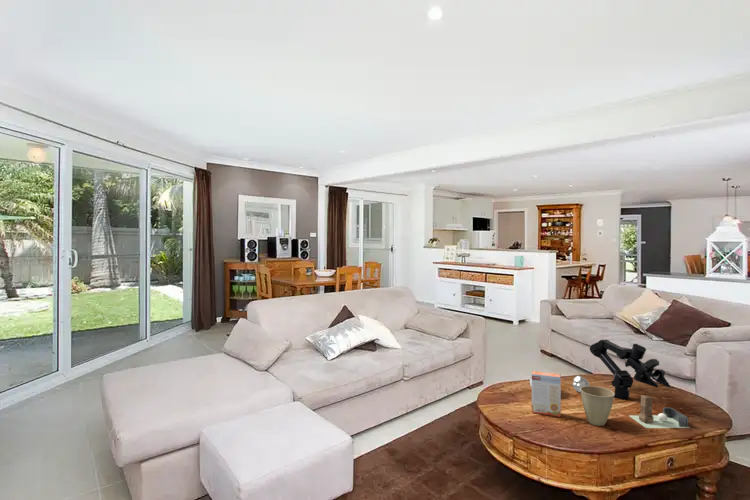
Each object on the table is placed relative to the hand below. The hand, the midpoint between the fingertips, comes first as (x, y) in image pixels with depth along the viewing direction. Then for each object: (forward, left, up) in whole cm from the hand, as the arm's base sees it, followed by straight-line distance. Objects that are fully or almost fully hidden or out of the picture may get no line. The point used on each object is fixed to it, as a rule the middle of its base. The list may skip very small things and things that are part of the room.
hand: (663, 386), depth 213 cm
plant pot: (-24, -31, -16) cm, 42 cm away
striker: (-5, -15, -15) cm, 22 cm away
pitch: (-1, -11, -15) cm, 19 cm away
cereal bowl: (-58, -7, -16) cm, 60 cm away
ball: (+1, -10, -13) cm, 16 cm away
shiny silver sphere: (-42, +7, -16) cm, 45 cm away
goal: (+5, -6, -15) cm, 17 cm away
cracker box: (-47, -36, -16) cm, 61 cm away
